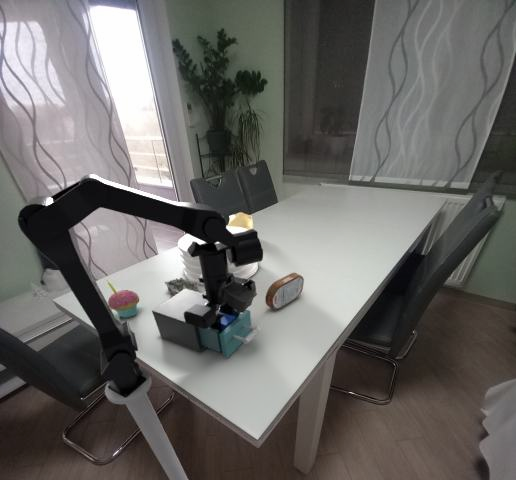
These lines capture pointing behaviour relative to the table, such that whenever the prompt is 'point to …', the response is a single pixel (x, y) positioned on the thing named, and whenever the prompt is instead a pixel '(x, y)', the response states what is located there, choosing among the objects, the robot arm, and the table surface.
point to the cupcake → (123, 302)
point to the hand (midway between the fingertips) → (224, 329)
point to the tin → (284, 290)
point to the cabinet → (179, 319)
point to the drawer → (229, 334)
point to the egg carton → (180, 285)
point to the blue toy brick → (226, 320)
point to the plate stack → (193, 263)
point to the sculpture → (241, 221)
